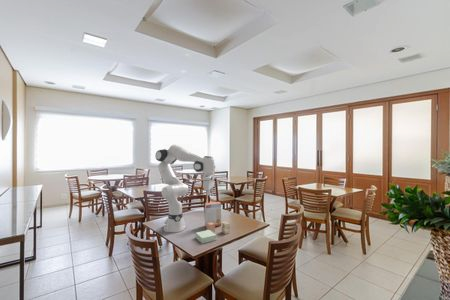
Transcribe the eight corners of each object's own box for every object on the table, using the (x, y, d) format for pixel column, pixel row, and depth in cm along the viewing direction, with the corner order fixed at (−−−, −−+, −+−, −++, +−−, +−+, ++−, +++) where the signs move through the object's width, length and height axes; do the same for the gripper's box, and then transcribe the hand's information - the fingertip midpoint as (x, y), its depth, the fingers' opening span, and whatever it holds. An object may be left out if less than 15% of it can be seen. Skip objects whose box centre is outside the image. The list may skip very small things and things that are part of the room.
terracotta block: (206, 231, 182) (206, 223, 182) (210, 230, 186) (210, 221, 186) (210, 233, 179) (210, 224, 179) (214, 231, 183) (214, 223, 182)
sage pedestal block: (195, 237, 170) (195, 232, 170) (209, 234, 176) (209, 229, 176) (202, 243, 160) (202, 238, 160) (216, 240, 166) (216, 234, 166)
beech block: (221, 232, 182) (221, 222, 182) (226, 230, 184) (226, 221, 184) (224, 234, 177) (224, 224, 177) (229, 232, 180) (229, 223, 180)
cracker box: (219, 223, 201) (219, 201, 201) (221, 225, 196) (221, 203, 195) (204, 225, 196) (204, 202, 196) (206, 227, 191) (206, 204, 191)
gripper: (208, 175, 181) (208, 191, 181) (201, 178, 161) (201, 196, 161) (215, 175, 180) (216, 191, 180) (209, 178, 160) (210, 197, 160)
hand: (209, 194), depth 170 cm, fingers open, 8 cm apart
